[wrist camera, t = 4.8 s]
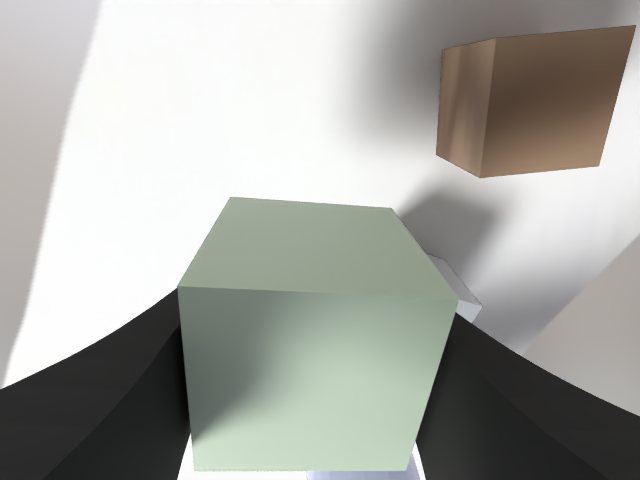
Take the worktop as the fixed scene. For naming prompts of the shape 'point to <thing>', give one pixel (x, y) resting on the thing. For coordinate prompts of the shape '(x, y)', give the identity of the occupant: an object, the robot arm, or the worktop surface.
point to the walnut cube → (530, 100)
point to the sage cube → (310, 338)
